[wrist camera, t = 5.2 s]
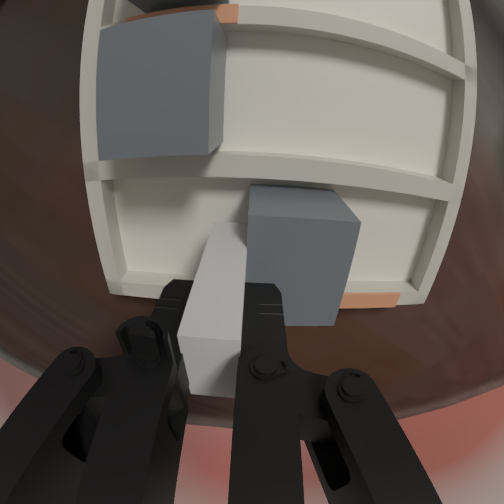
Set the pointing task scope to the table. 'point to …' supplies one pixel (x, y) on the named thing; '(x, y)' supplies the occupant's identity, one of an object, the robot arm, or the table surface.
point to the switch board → (303, 139)
